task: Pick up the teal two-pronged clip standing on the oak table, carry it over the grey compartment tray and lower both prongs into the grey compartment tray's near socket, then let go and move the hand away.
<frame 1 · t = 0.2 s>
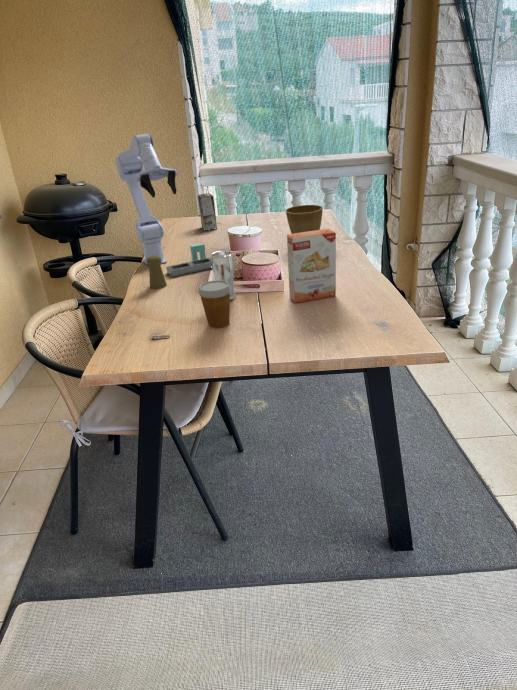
hand: (164, 194, 177), 31 cm above the table, tool tilted 45°, fingers open, 7 cm apart
plant pot: (305, 247, 215), on the table
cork: (158, 286, 187), on the table
grey compartment tray: (191, 270, 200), on the table
disposable coffee cup: (218, 324, 154), on the table
coffee box: (209, 228, 257), on the table
cracker box: (313, 297, 166), on the table
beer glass: (226, 298, 172), on the table
clip: (199, 261, 209), on the table
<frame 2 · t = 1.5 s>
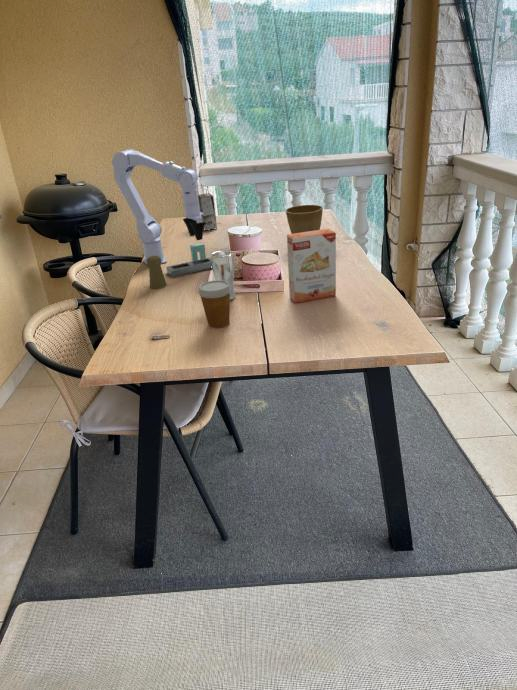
hand: (196, 237, 205), 10 cm above the table, tool pointing down, fingers open, 7 cm apart
nothing on the table moved.
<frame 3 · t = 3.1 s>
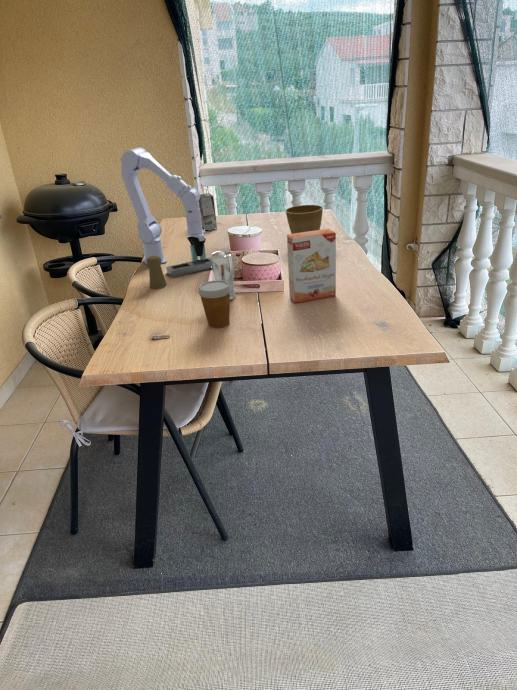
hand: (198, 254, 208), 3 cm above the table, tool pointing down, fingers closed on clip, 2 cm apart
clip: (199, 261, 209), on the table, touching gripper
everything else where it was.
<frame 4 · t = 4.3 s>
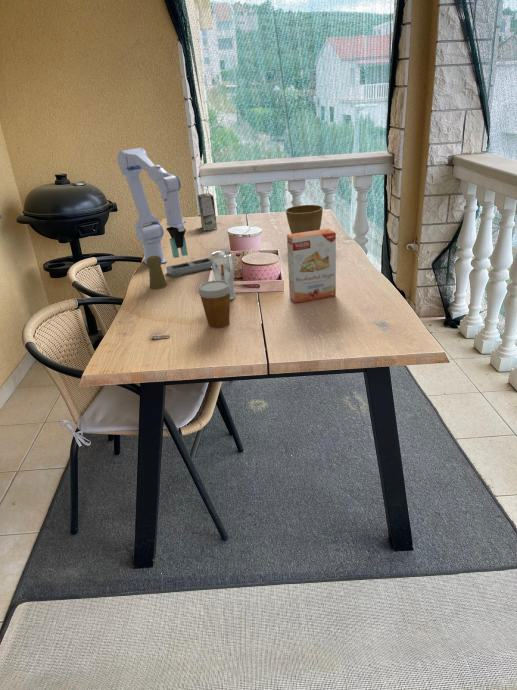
hand: (178, 246, 195), 10 cm above the table, tool pointing down, fingers closed on clip, 2 cm apart
clip: (180, 256, 197), point 6 cm above the table, touching gripper
everything else where it was.
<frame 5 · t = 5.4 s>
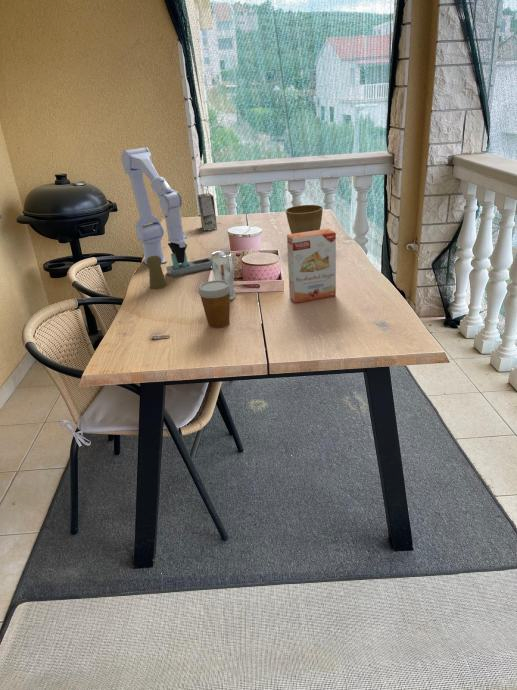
hand: (179, 261, 197), 4 cm above the table, tool pointing down, fingers closed on clip, 2 cm apart
clip: (181, 270, 199), point 1 cm above the table, touching gripper
everything else where it was.
when the fingers open (4 cm above the table, at t = 5.9 s): clip stays where it is, resting in grey compartment tray.
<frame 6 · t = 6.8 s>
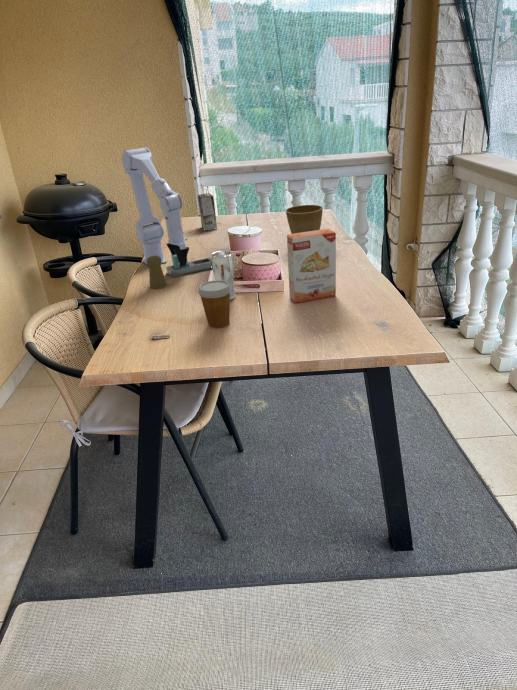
hand: (180, 263, 197), 4 cm above the table, tool pointing down, fingers open, 7 cm apart
clip: (181, 272, 199), resting in grey compartment tray
everything else where it was.
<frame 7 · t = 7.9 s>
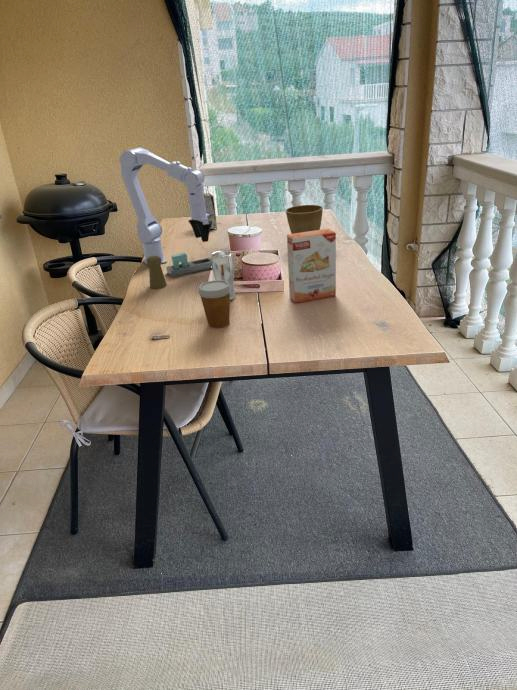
hand: (202, 239, 202), 10 cm above the table, tool pointing down, fingers open, 7 cm apart
nothing on the table moved.
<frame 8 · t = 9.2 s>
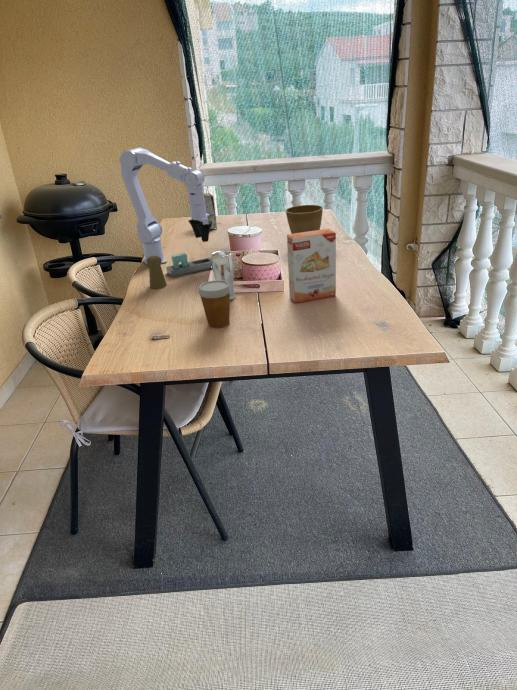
hand: (202, 239, 202), 10 cm above the table, tool pointing down, fingers open, 7 cm apart
nothing on the table moved.
at the end: clip 0.0 cm from the target spot on the grey compartment tray, point 0.0 cm above the grey compartment tray's base; clip tilted 0°; the gripper is holding nothing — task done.
